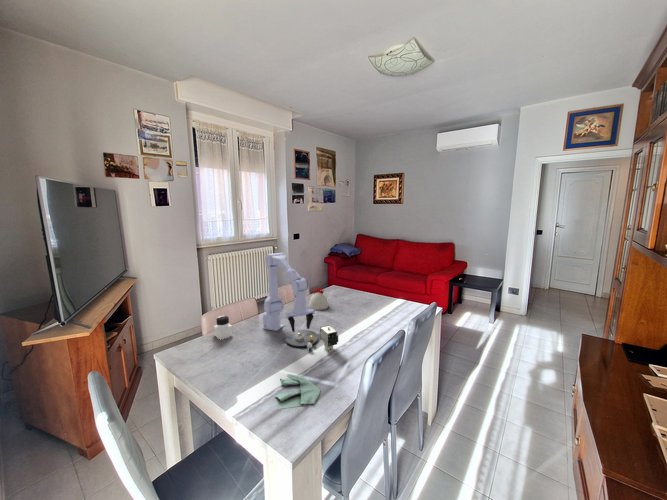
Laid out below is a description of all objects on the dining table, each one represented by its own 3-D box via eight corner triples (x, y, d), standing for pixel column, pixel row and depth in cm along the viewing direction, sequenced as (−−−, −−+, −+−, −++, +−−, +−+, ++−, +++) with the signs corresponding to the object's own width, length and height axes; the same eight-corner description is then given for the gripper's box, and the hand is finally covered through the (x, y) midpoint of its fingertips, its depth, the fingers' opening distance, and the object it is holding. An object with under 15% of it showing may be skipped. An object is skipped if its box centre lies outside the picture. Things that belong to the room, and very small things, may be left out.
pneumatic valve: (329, 357, 130) (329, 332, 128) (319, 346, 140) (319, 323, 138) (340, 354, 132) (340, 330, 131) (329, 344, 143) (329, 321, 141)
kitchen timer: (327, 312, 188) (327, 290, 186) (307, 312, 188) (307, 290, 186) (328, 305, 202) (328, 285, 199) (309, 305, 202) (309, 285, 200)
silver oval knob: (306, 350, 135) (306, 342, 135) (307, 348, 137) (307, 341, 136) (311, 351, 134) (311, 343, 134) (313, 349, 136) (313, 341, 135)
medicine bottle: (233, 338, 149) (232, 316, 148) (220, 342, 144) (218, 320, 142) (226, 334, 154) (225, 313, 152) (214, 338, 149) (212, 317, 147)
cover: (297, 342, 139) (297, 336, 139) (292, 339, 143) (292, 332, 143) (306, 340, 143) (306, 333, 142) (301, 336, 146) (300, 330, 146)
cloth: (321, 407, 98) (321, 401, 97) (258, 410, 96) (257, 404, 96) (319, 373, 118) (319, 368, 118) (267, 376, 116) (267, 370, 116)
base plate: (276, 345, 141) (276, 344, 141) (294, 330, 158) (294, 329, 158) (310, 352, 134) (310, 351, 134) (325, 335, 152) (325, 334, 152)
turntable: (292, 349, 135) (292, 341, 134) (281, 336, 150) (280, 328, 149) (324, 341, 143) (323, 334, 143) (310, 329, 158) (310, 322, 157)
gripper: (288, 308, 129) (288, 335, 131) (317, 303, 135) (317, 330, 137) (284, 303, 136) (284, 329, 138) (311, 299, 142) (312, 324, 144)
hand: (300, 329), depth 138 cm, fingers open, 7 cm apart
